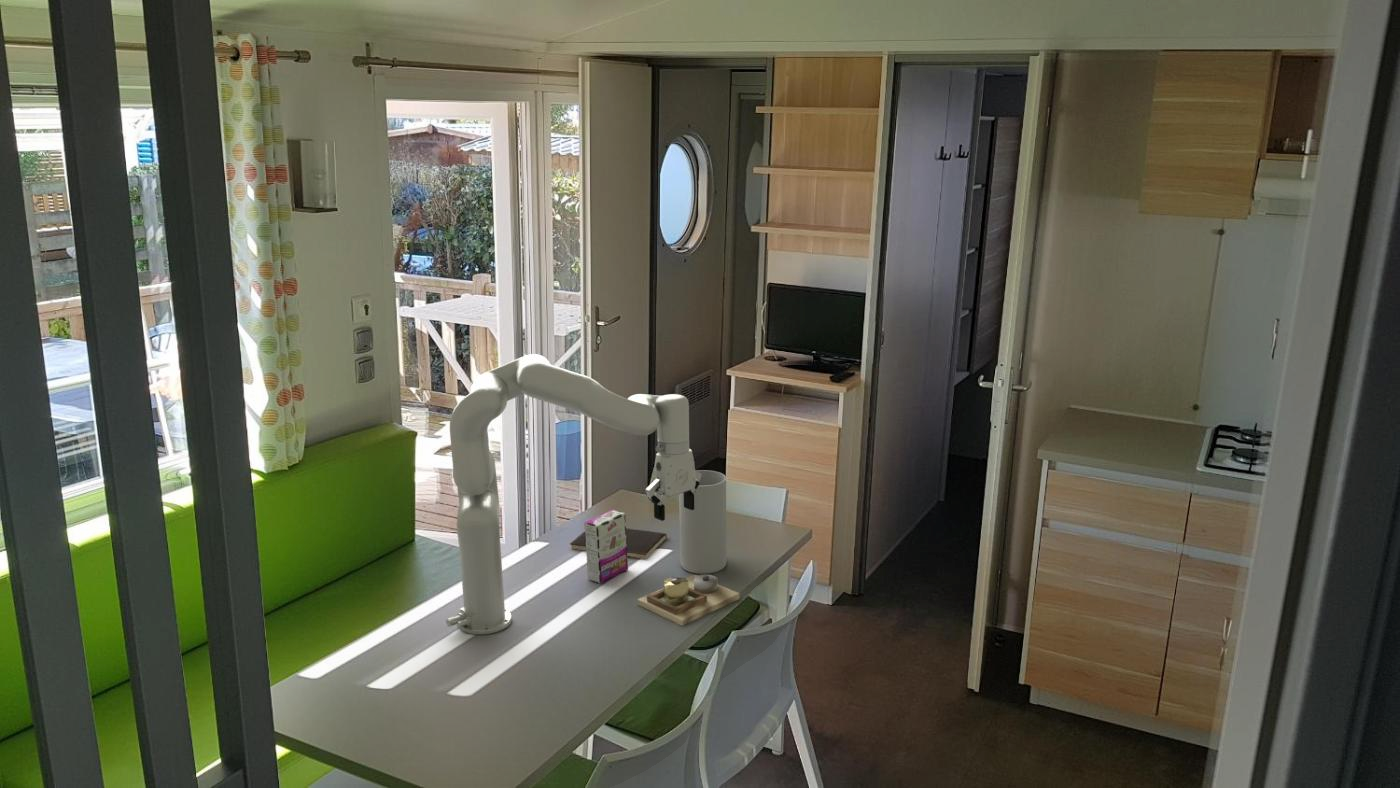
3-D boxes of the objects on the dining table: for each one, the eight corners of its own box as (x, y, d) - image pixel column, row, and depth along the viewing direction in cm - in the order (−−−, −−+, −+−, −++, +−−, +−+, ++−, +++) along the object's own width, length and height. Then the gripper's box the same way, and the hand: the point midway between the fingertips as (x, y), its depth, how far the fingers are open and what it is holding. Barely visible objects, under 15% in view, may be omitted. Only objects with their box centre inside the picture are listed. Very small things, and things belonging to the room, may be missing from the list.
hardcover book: (645, 561, 283) (645, 553, 283) (570, 551, 291) (569, 543, 290) (666, 539, 298) (666, 532, 297) (594, 530, 306) (594, 523, 305)
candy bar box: (614, 565, 280) (612, 508, 276) (628, 570, 277) (626, 512, 273) (586, 579, 271) (583, 521, 267) (600, 584, 268) (597, 525, 264)
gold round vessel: (676, 608, 251) (675, 586, 249) (659, 600, 255) (658, 579, 253) (693, 600, 255) (693, 578, 253) (676, 593, 259) (676, 571, 258)
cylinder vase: (700, 552, 288) (699, 467, 281) (735, 563, 280) (735, 476, 274) (670, 566, 278) (669, 479, 272) (706, 579, 271) (705, 489, 264)
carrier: (681, 625, 246) (681, 607, 245) (637, 604, 257) (637, 586, 256) (739, 598, 259) (739, 581, 258) (695, 579, 270) (694, 562, 269)
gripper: (656, 458, 237) (658, 527, 241) (710, 442, 249) (710, 508, 253) (635, 451, 242) (637, 519, 247) (689, 435, 254) (689, 501, 258)
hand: (674, 513), depth 250 cm, fingers open, 9 cm apart
